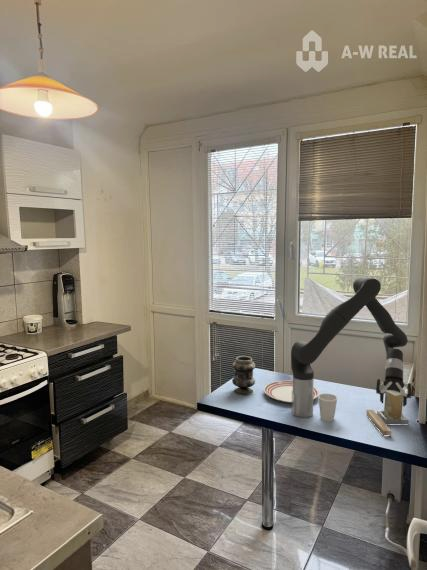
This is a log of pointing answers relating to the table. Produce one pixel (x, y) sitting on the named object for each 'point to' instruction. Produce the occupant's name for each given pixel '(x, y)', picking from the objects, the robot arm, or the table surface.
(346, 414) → the table surface
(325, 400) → the dixie cup
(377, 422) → the sill
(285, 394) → the dinner plate
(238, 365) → the dark carved vase
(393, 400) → the skincare box
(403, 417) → the tray
